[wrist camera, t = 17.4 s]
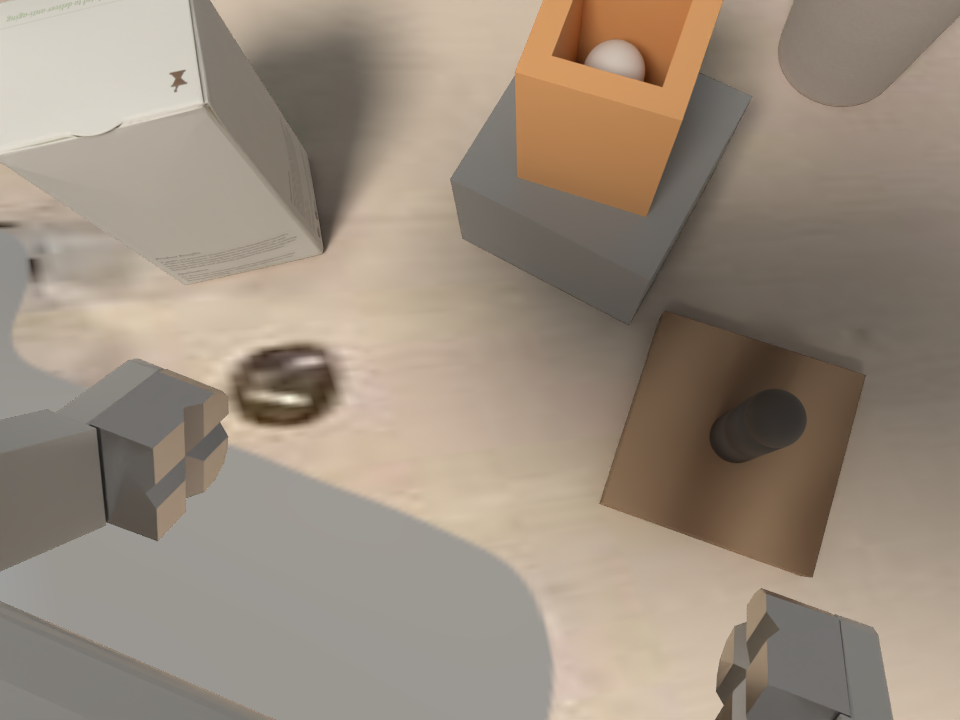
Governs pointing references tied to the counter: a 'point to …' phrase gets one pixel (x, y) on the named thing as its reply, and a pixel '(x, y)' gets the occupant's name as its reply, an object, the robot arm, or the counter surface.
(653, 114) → the sleeve
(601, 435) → the counter surface
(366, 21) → the counter surface
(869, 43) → the coffee cup
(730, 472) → the stand
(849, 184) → the counter surface
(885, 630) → the counter surface
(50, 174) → the skincare box
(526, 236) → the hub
